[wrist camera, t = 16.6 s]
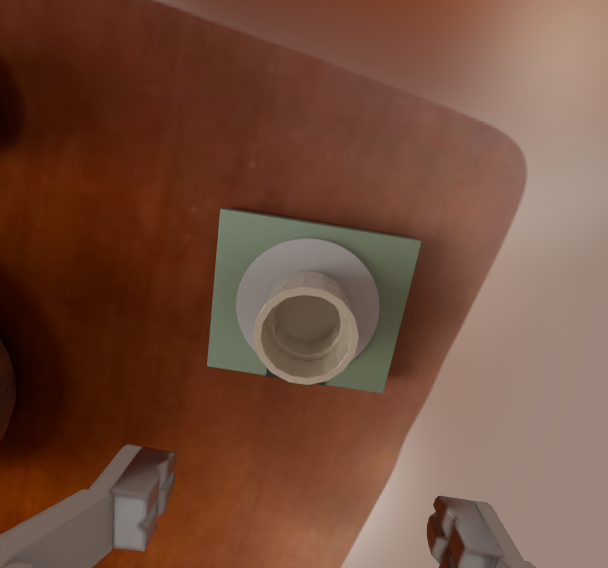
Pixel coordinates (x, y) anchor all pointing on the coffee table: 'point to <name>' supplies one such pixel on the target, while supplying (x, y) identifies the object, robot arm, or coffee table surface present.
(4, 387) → the bowl
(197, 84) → the coffee table surface
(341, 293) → the white cup
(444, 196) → the coffee table surface
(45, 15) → the coffee table surface
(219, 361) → the scale
